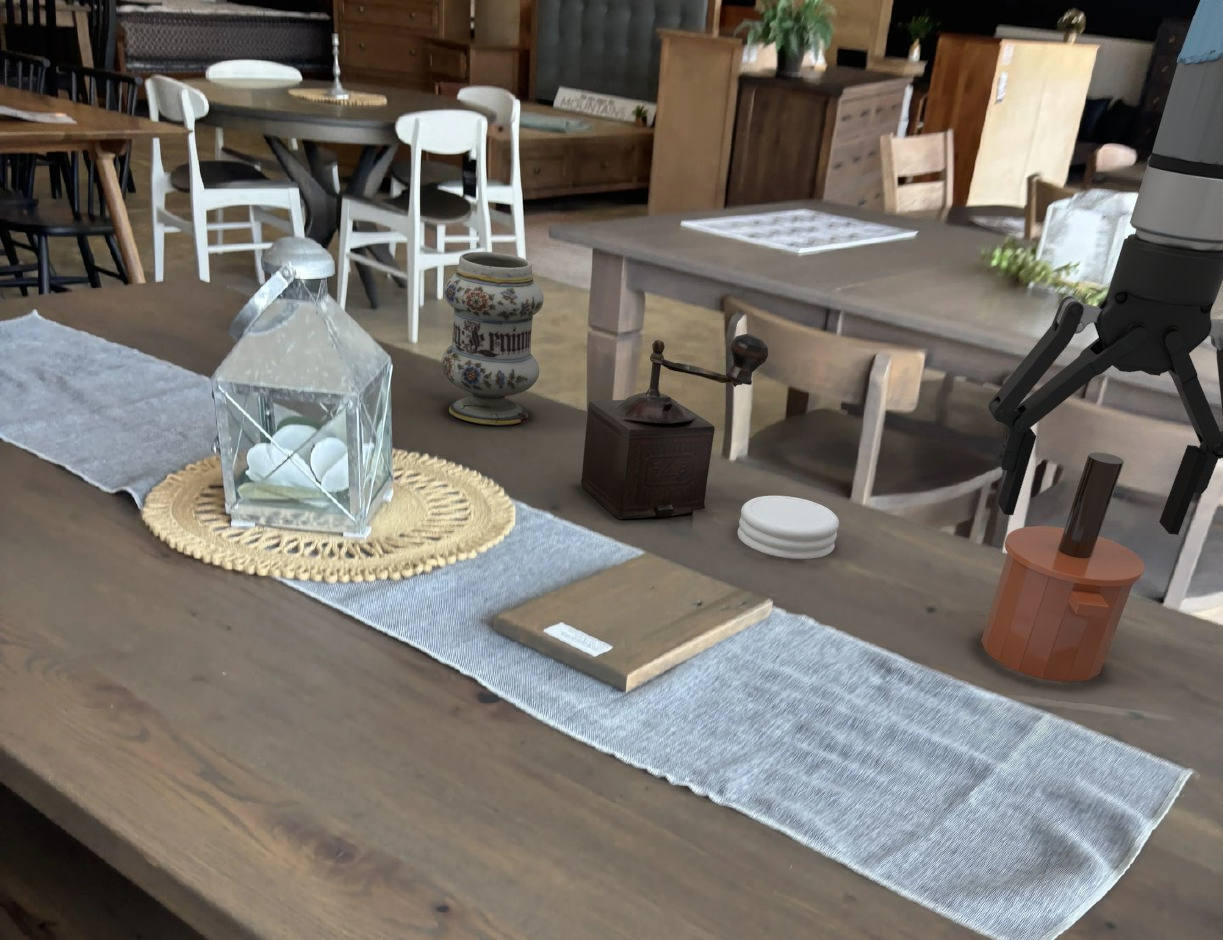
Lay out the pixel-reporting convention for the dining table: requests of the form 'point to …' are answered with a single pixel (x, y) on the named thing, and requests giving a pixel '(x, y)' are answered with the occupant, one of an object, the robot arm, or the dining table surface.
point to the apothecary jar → (491, 336)
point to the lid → (1081, 535)
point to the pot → (1051, 624)
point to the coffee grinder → (657, 442)
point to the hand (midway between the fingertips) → (1086, 519)
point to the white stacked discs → (788, 527)
